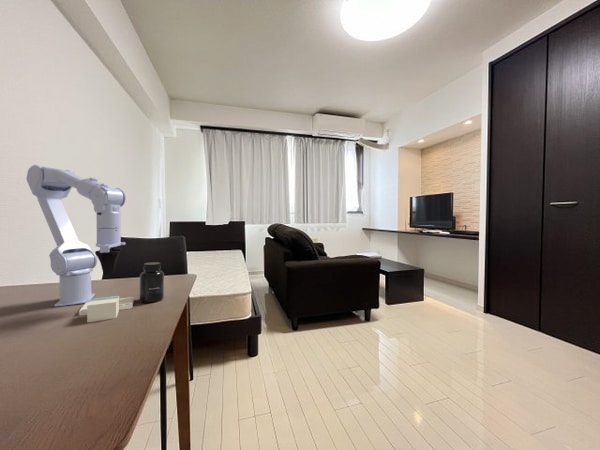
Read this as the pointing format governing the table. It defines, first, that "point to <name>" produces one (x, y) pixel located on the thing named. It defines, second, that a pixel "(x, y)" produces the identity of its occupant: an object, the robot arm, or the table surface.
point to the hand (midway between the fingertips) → (109, 273)
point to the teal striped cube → (102, 308)
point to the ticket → (123, 304)
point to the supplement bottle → (151, 283)
